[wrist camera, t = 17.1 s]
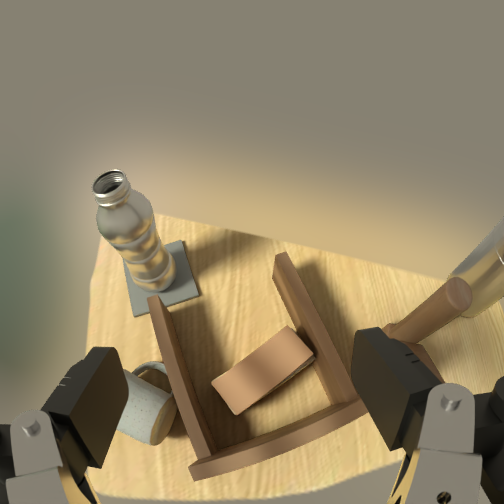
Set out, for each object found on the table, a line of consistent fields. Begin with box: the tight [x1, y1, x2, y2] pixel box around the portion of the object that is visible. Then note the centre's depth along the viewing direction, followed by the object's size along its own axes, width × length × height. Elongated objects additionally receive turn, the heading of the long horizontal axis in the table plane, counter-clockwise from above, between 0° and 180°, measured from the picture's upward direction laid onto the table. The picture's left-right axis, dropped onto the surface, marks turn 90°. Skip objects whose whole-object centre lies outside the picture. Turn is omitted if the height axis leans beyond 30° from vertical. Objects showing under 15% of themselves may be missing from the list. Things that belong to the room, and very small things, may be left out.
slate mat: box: [123, 240, 199, 317], centre depth 43 cm, size 10×10×1 cm
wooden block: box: [381, 277, 473, 384], centre depth 29 cm, size 4×11×18 cm, turn 165°
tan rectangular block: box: [211, 325, 316, 415], centre depth 34 cm, size 12×5×6 cm, turn 125°
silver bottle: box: [92, 169, 177, 293], centre depth 34 cm, size 6×7×20 cm
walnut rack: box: [147, 252, 368, 481], centre depth 32 cm, size 18×22×12 cm
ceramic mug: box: [117, 361, 177, 446], centre depth 31 cm, size 11×8×8 cm
